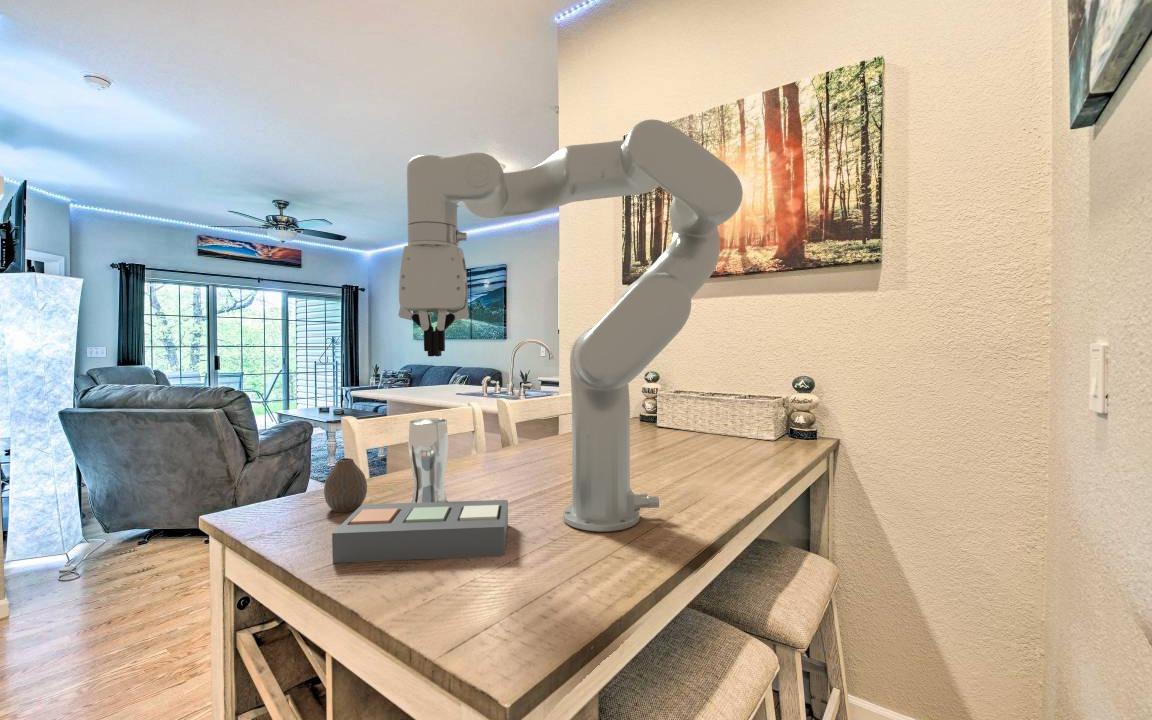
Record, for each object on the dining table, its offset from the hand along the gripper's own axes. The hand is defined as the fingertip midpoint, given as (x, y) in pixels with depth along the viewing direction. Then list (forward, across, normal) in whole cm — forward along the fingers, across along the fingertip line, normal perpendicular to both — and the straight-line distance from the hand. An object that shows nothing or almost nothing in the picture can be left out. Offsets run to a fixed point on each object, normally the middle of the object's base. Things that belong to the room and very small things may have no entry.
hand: (434, 355), depth 81 cm
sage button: (+27, 0, +7) cm, 28 cm away
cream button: (+27, -7, +7) cm, 29 cm away
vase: (+27, +18, -10) cm, 34 cm away
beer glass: (+27, +4, -12) cm, 30 cm away
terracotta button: (+27, +7, +7) cm, 29 cm away
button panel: (+27, 0, +7) cm, 28 cm away
